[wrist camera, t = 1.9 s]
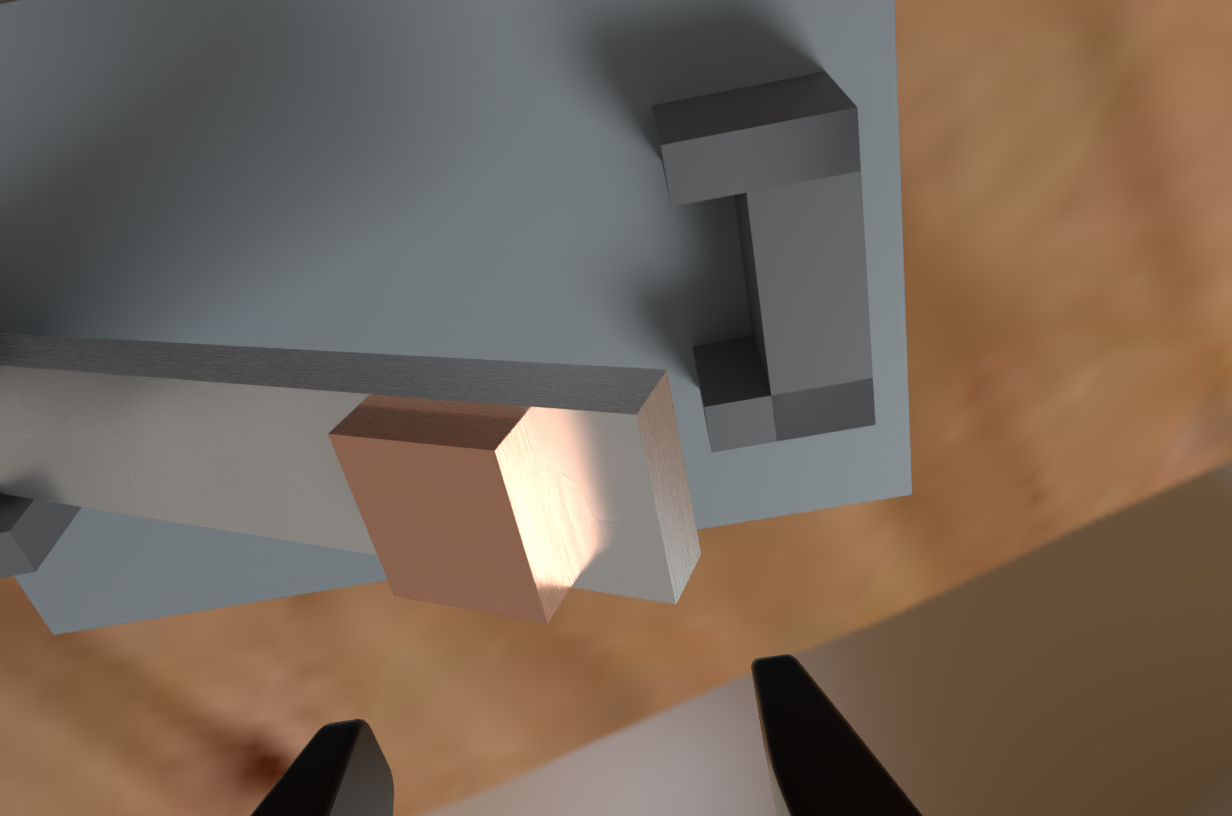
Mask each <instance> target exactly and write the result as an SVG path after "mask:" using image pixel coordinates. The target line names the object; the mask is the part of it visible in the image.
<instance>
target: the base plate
mask: <svg viewBox="0 0 1232 816" xmlns="http://www.w3.org/2000/svg"><path fill="white" fill-rule="evenodd" d="M0 333H9V334H28V335H46V336H64V337H82V338H100V339H119V340H137V341H155V342H173V343H192V344H210V345H228V346H246V347H264V348H283V349H301V350H319V351H337V352H356V353H374V354H392V355H410V356H428V357H447V358H465V359H483V360H501V361H520V362H538V363H556V364H574V365H592V366H611V367H629V368H647V369H665V370H667V373H668V378H669V383H670V389H671V394H672V400H673V405H674V411H675V416H676V421H677V427H678V432H679V438H680V443H681V449H682V454H683V459H684V465H685V470H686V476H687V481H688V486H689V492H690V497H691V503H692V508H693V514H694V519H695V524H696V530H697V529H703V528H709V527H715V526H721V525H728V524H734V523H740V522H746V521H752V520H758V519H764V518H770V517H776V516H783V515H789V514H795V513H801V512H807V511H813V510H819V509H825V508H831V507H838V506H844V505H850V504H856V503H862V502H868V501H874V500H880V499H886V498H893V497H899V496H905V495H911V494H912V483H911V455H910V427H909V399H908V371H907V342H906V314H905V286H904V258H903V230H902V202H901V174H900V145H899V117H898V89H897V61H896V33H895V5H894V0H0ZM8 576H14V577H15V578H16V580H17V581H18V583H19V584H20V586H21V587H22V589H23V590H24V592H25V593H26V595H27V596H28V598H29V599H30V601H31V602H32V604H33V605H34V607H35V608H36V610H37V611H38V612H39V614H40V615H41V617H42V618H43V620H44V621H45V623H46V624H47V626H48V627H49V629H50V630H51V632H52V633H53V635H55V634H61V633H68V632H74V631H80V630H86V629H92V628H98V627H104V626H110V625H116V624H123V623H129V622H135V621H141V620H147V619H153V618H159V617H165V616H171V615H178V614H184V613H190V612H196V611H202V610H208V609H214V608H220V607H226V606H233V605H239V604H245V603H251V602H257V601H263V600H269V599H275V598H281V597H288V596H294V595H300V594H306V593H312V592H318V591H324V590H330V589H336V588H343V587H349V586H355V585H361V584H367V583H373V582H379V581H385V580H387V577H386V575H385V572H384V570H383V567H382V565H381V563H380V560H379V558H378V555H372V554H366V553H360V552H353V551H347V550H341V549H335V548H329V547H323V546H317V545H311V544H305V543H299V542H292V541H286V540H280V539H274V538H268V537H262V536H256V535H250V534H244V533H238V532H231V531H225V530H219V529H213V528H207V527H201V526H195V525H189V524H183V523H177V522H170V521H164V520H158V519H152V518H146V517H140V516H134V515H128V514H122V513H116V512H109V511H103V510H97V509H91V508H85V507H79V506H73V505H67V504H61V503H55V502H48V501H42V500H36V499H30V498H24V497H18V496H12V495H6V494H1V495H0V578H2V577H8Z"/></svg>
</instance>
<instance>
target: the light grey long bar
mask: <svg viewBox="0 0 1232 816" xmlns="http://www.w3.org/2000/svg"><path fill="white" fill-rule="evenodd" d="M1 494H6V495H12V496H18V497H24V498H30V499H36V500H42V501H48V502H55V503H61V504H67V505H73V506H79V507H85V508H91V509H97V510H103V511H109V512H116V513H122V514H128V515H134V516H140V517H146V518H152V519H158V520H164V521H170V522H177V523H183V524H189V525H195V526H201V527H207V528H213V529H219V530H225V531H231V532H238V533H244V534H250V535H256V536H262V537H268V538H274V539H280V540H286V541H292V542H299V543H305V544H311V545H317V546H323V547H329V548H335V549H341V550H347V551H353V552H360V553H366V554H372V555H378V558H379V560H380V563H381V565H382V567H383V570H384V572H385V575H386V577H387V580H388V582H389V584H390V587H391V589H392V592H393V594H394V596H399V597H404V598H410V599H415V600H421V601H426V602H432V603H437V604H442V605H448V606H453V607H459V608H464V609H470V610H475V611H481V612H486V613H491V614H497V615H502V616H508V617H513V618H519V619H524V620H529V621H535V622H540V623H546V624H548V623H549V621H550V619H551V618H552V616H553V615H554V613H555V611H556V610H557V608H558V607H559V605H560V603H561V602H562V600H563V598H564V597H565V595H566V594H567V592H568V590H569V589H570V587H573V588H579V589H585V590H591V591H597V592H604V593H610V594H616V595H622V596H628V597H634V598H640V599H646V600H652V601H658V602H665V603H671V604H677V602H678V600H679V597H680V595H681V593H682V591H683V589H684V587H685V585H686V583H687V581H688V579H689V577H690V575H691V573H692V571H693V569H694V567H695V565H696V563H697V561H698V559H699V557H700V555H701V552H700V546H699V541H698V535H697V530H696V524H695V519H694V514H693V508H692V503H691V497H690V492H689V486H688V481H687V476H686V470H685V465H684V459H683V454H682V449H681V443H680V438H679V432H678V427H677V421H676V416H675V411H674V405H673V400H672V394H671V389H670V383H669V378H668V373H667V370H665V369H647V368H629V367H611V366H592V365H574V364H556V363H538V362H520V361H501V360H483V359H465V358H447V357H428V356H410V355H392V354H374V353H356V352H337V351H319V350H301V349H283V348H264V347H246V346H228V345H210V344H192V343H173V342H155V341H137V340H119V339H100V338H82V337H64V336H46V335H28V334H9V333H0V495H1Z"/></svg>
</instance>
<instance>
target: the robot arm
mask: <svg viewBox="0 0 1232 816" xmlns="http://www.w3.org/2000/svg"><path fill="white" fill-rule="evenodd" d="M751 669H752V676H753V682H754V688H755V694H756V701H757V707H758V713H759V719H760V725H761V731H762V737H763V742H764V748H765V753H766V759H767V764H768V770H769V775H770V781H771V786H772V792H773V797H774V802H775V807H776V814H777V816H924V815H923V814H922V813H921V811H920V810H919V809H918V808H917V807H916V805H915V804H914V803H913V802H912V801H911V799H910V798H909V797H908V795H907V794H906V793H905V792H904V791H903V789H902V788H901V787H900V786H899V784H898V783H897V782H896V781H895V780H894V778H893V777H892V776H891V775H890V773H889V772H888V771H887V770H886V768H885V767H884V766H883V765H882V763H881V762H880V761H879V760H878V759H877V757H876V756H875V755H874V754H873V752H872V751H871V750H870V749H869V747H868V746H867V745H866V744H865V742H864V741H863V740H862V739H861V738H860V736H859V735H858V734H857V733H856V731H855V730H854V729H853V728H852V726H851V725H850V724H849V723H848V721H847V720H846V719H845V718H844V717H843V715H842V714H841V713H840V712H839V710H838V709H837V708H836V707H835V706H834V705H833V703H832V702H831V701H830V699H829V698H828V697H827V696H826V694H825V693H824V692H823V691H822V689H821V688H820V687H819V686H818V685H817V683H816V682H815V681H814V680H813V679H812V677H811V676H810V675H809V673H808V672H807V671H806V670H805V669H804V667H803V666H802V665H801V664H800V662H799V661H798V660H797V659H796V658H795V657H794V656H792V655H789V654H785V655H778V656H771V657H765V658H758V659H755V660H754V661H753V662H752V665H751ZM393 802H394V784H393V777H392V774H391V770H390V768H389V765H388V763H387V761H386V759H385V757H384V755H383V753H382V751H381V748H380V746H379V744H378V742H377V740H376V738H375V736H374V734H373V731H372V729H371V728H370V726H369V724H368V723H367V722H366V721H364V720H362V719H354V720H348V721H341V722H335V723H329V724H327V725H325V726H323V727H322V728H321V729H320V730H319V731H318V732H317V733H316V734H315V735H314V737H313V738H312V739H311V740H310V742H309V743H308V744H307V745H306V747H305V748H304V749H303V750H302V752H301V753H300V754H299V755H298V757H297V758H296V759H295V760H294V762H293V763H292V764H291V765H290V767H289V768H288V769H287V770H286V772H285V773H284V774H283V775H282V777H281V778H280V779H279V780H278V782H277V783H276V784H275V785H274V787H273V788H272V789H271V790H270V792H269V793H268V794H267V795H266V797H265V798H264V799H263V800H262V802H261V803H260V804H259V805H258V807H257V808H256V809H255V810H254V812H253V813H252V814H251V816H393Z"/></svg>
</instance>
